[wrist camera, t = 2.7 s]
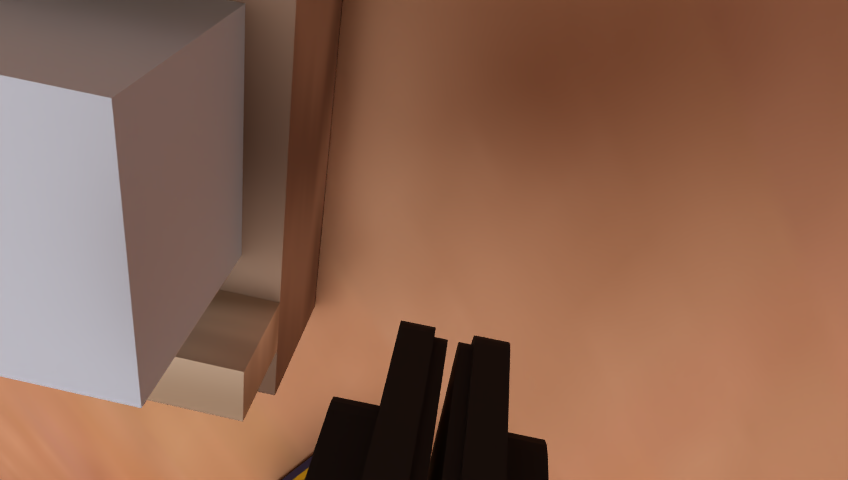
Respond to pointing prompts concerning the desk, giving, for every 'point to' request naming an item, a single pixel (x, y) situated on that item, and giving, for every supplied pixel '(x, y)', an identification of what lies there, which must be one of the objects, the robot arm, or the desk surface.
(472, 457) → the robot arm
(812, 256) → the desk surface
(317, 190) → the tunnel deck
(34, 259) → the block
